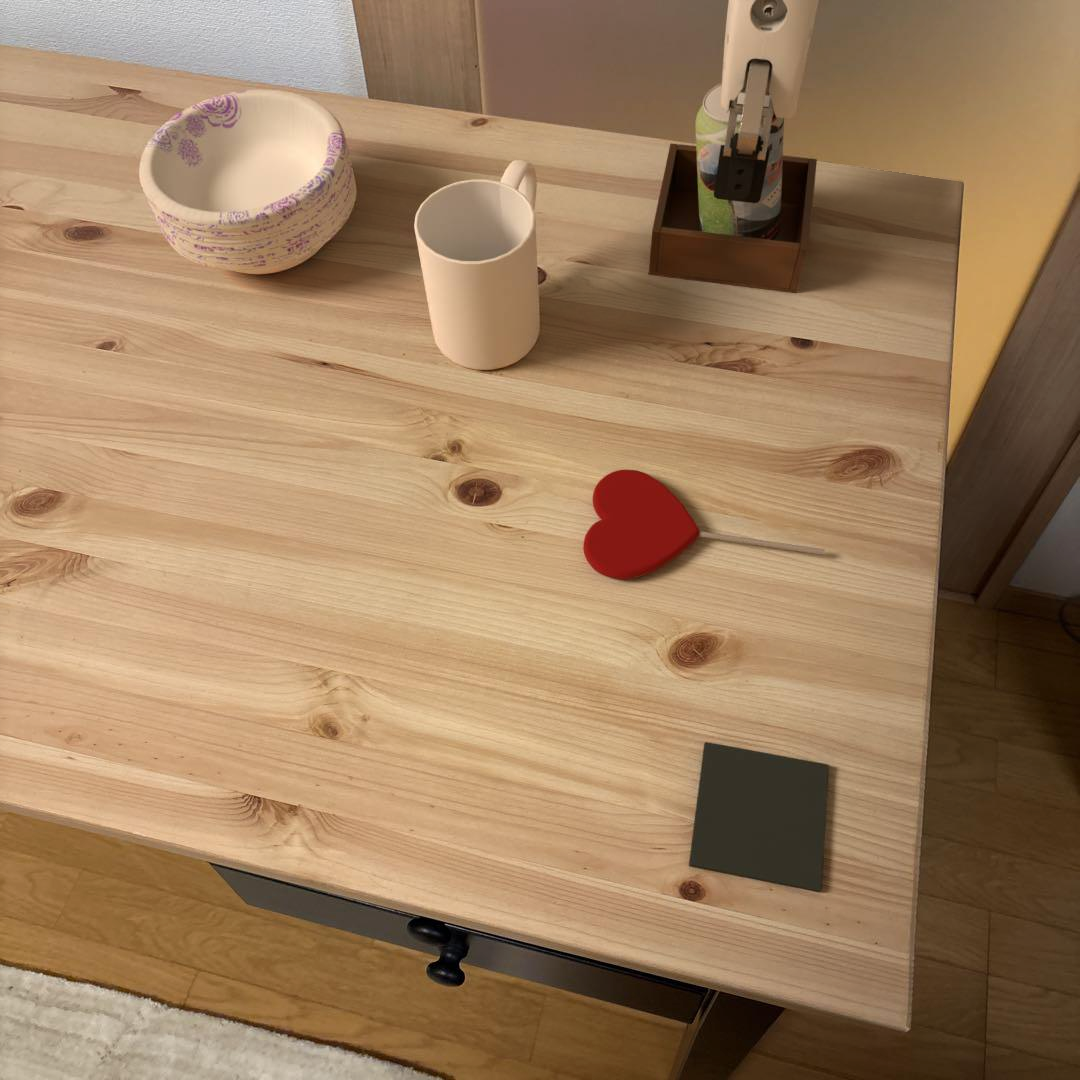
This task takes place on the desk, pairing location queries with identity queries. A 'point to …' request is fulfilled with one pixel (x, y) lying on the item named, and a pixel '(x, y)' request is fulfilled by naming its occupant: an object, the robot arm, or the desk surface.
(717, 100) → the beverage can
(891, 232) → the desk surface
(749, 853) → the coaster
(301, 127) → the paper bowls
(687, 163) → the wooden box
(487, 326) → the mug
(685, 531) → the lollipop
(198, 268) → the desk surface
